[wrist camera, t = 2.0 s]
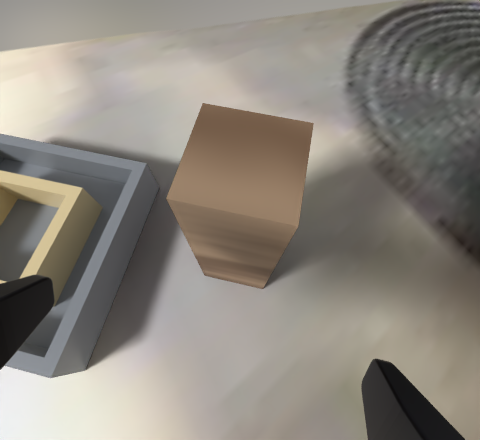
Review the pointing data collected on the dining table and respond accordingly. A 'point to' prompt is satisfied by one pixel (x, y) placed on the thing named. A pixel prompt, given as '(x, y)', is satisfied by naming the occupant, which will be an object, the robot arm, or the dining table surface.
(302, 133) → the post
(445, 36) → the dining table surface
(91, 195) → the housing
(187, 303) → the dining table surface
